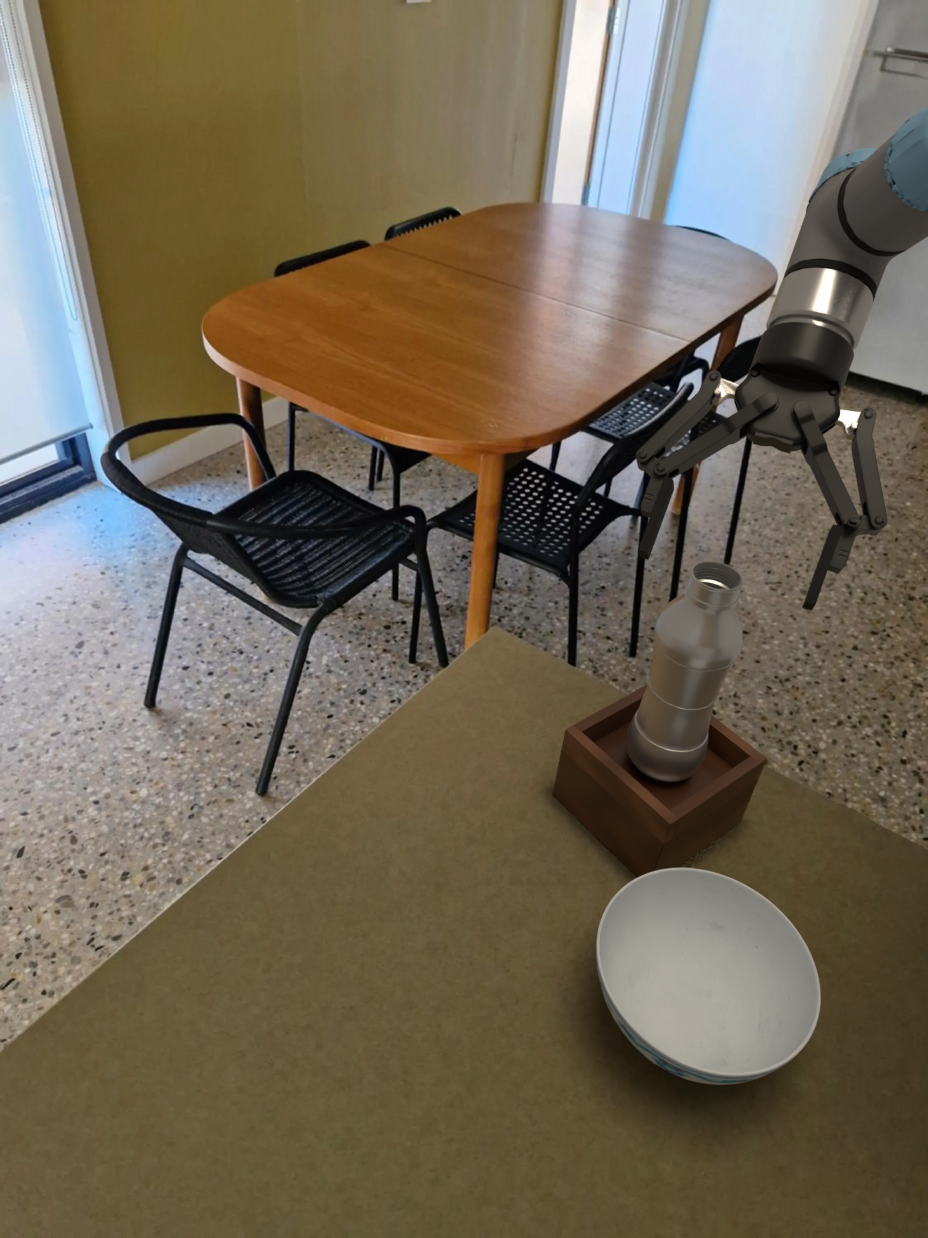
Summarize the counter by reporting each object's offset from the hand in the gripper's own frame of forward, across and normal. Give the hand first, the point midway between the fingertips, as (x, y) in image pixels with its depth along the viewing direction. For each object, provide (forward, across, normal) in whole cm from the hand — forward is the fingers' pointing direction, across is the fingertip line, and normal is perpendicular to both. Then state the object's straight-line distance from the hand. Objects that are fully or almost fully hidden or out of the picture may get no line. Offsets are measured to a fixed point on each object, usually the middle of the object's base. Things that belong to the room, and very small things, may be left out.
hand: (723, 580), depth 72 cm
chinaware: (+32, -8, +3) cm, 34 cm away
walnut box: (+20, 0, -10) cm, 22 cm away
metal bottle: (+16, 0, -5) cm, 17 cm away
